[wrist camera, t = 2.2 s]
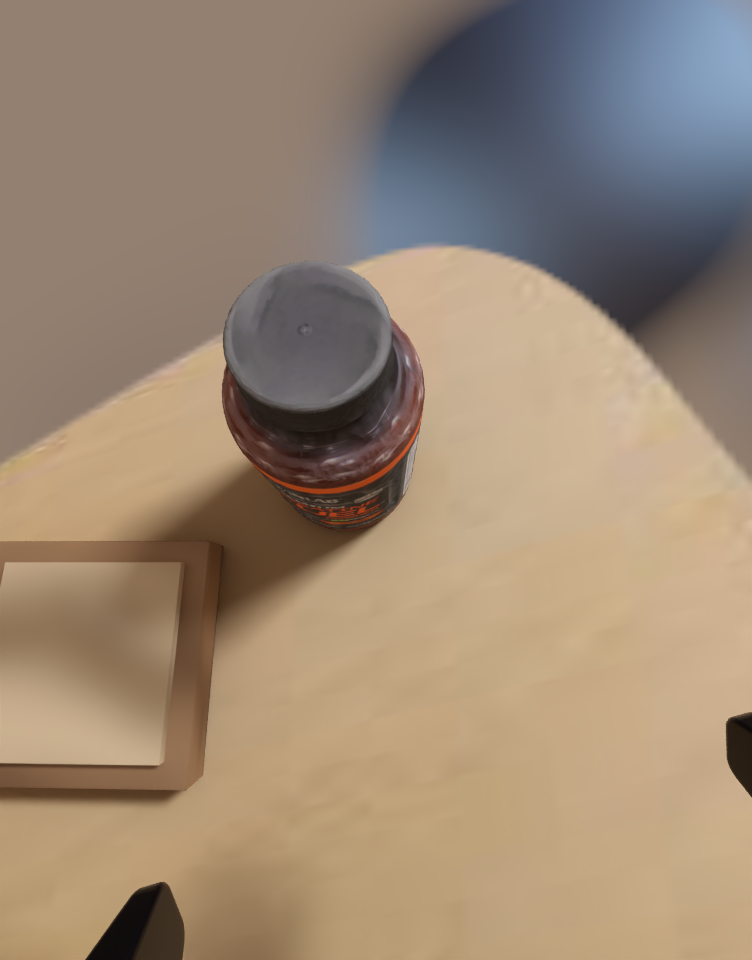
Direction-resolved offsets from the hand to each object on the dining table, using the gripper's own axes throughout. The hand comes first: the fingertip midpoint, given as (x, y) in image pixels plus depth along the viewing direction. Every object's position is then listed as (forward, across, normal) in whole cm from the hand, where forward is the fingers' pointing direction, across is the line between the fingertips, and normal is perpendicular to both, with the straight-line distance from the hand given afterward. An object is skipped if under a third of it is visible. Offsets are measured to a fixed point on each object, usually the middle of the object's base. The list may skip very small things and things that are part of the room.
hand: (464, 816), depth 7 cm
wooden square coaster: (+14, +12, +2) cm, 18 cm away
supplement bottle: (+16, 0, -2) cm, 16 cm away
